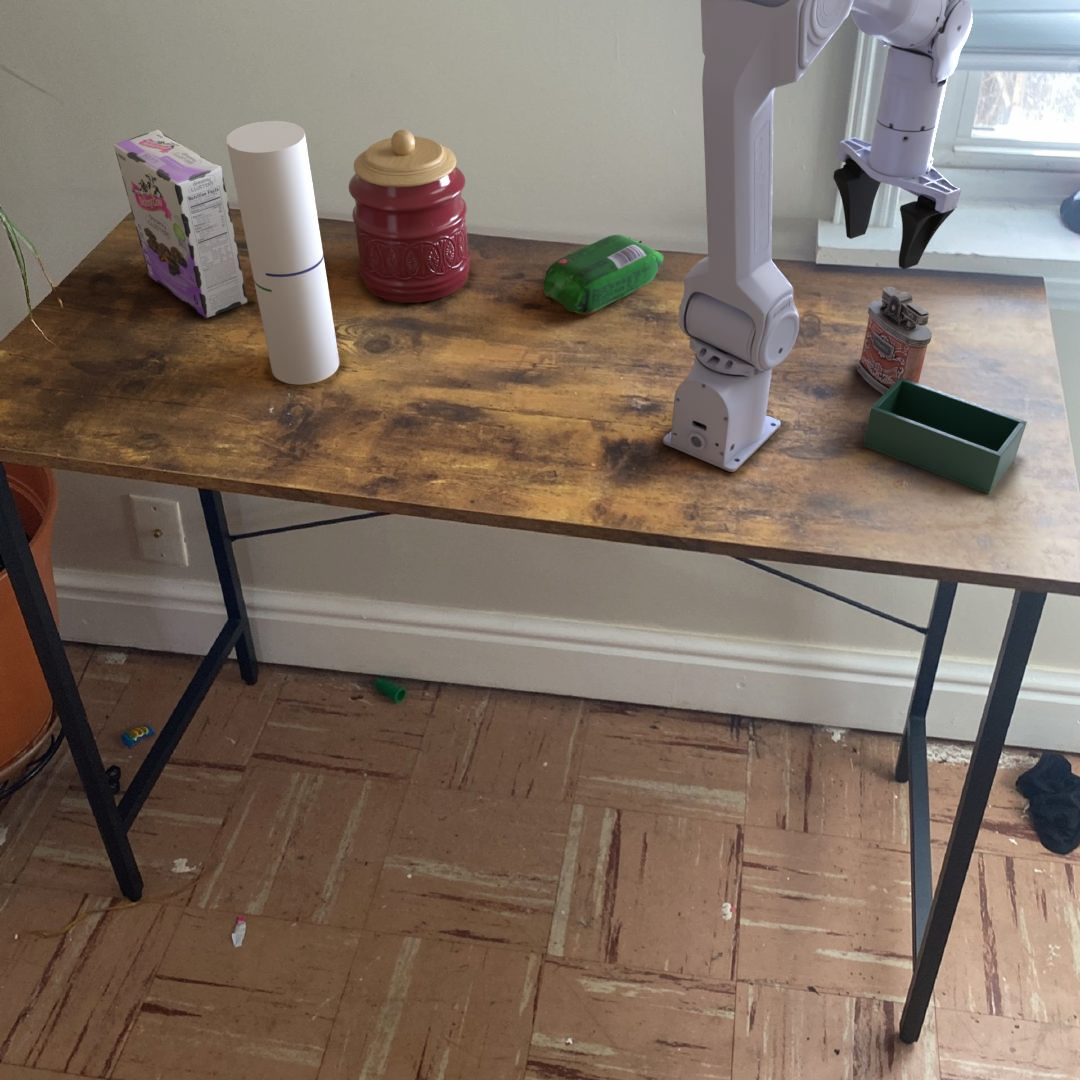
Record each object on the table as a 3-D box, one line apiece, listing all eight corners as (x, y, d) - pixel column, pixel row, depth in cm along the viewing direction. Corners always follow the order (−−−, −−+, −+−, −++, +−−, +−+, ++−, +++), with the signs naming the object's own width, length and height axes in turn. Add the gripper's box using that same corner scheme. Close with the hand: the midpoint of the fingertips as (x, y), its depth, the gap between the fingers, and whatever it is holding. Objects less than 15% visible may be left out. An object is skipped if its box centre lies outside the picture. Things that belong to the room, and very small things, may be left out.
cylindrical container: (326, 387, 122) (288, 155, 105) (261, 380, 123) (213, 149, 106) (348, 350, 127) (315, 123, 110) (285, 344, 128) (244, 118, 111)
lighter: (849, 367, 123) (865, 282, 116) (875, 359, 124) (893, 274, 118) (897, 407, 118) (917, 320, 111) (924, 398, 119) (946, 312, 112)
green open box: (988, 494, 107) (1000, 456, 104) (862, 445, 113) (870, 408, 110) (1015, 459, 111) (1027, 421, 108) (891, 413, 117) (899, 376, 114)
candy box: (146, 276, 140) (110, 142, 129) (190, 259, 143) (158, 126, 132) (205, 320, 132) (173, 181, 121) (250, 302, 135) (222, 164, 124)
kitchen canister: (391, 243, 145) (376, 101, 133) (488, 261, 141) (481, 116, 130) (341, 294, 136) (319, 146, 124) (442, 314, 132) (430, 163, 121)
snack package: (674, 281, 137) (676, 240, 134) (575, 329, 129) (575, 286, 126) (631, 260, 141) (632, 219, 138) (533, 305, 134) (532, 263, 130)
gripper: (995, 136, 109) (962, 268, 118) (883, 87, 118) (861, 213, 127) (940, 154, 106) (911, 288, 115) (830, 102, 115) (811, 230, 124)
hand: (881, 250), depth 121 cm, fingers open, 7 cm apart
